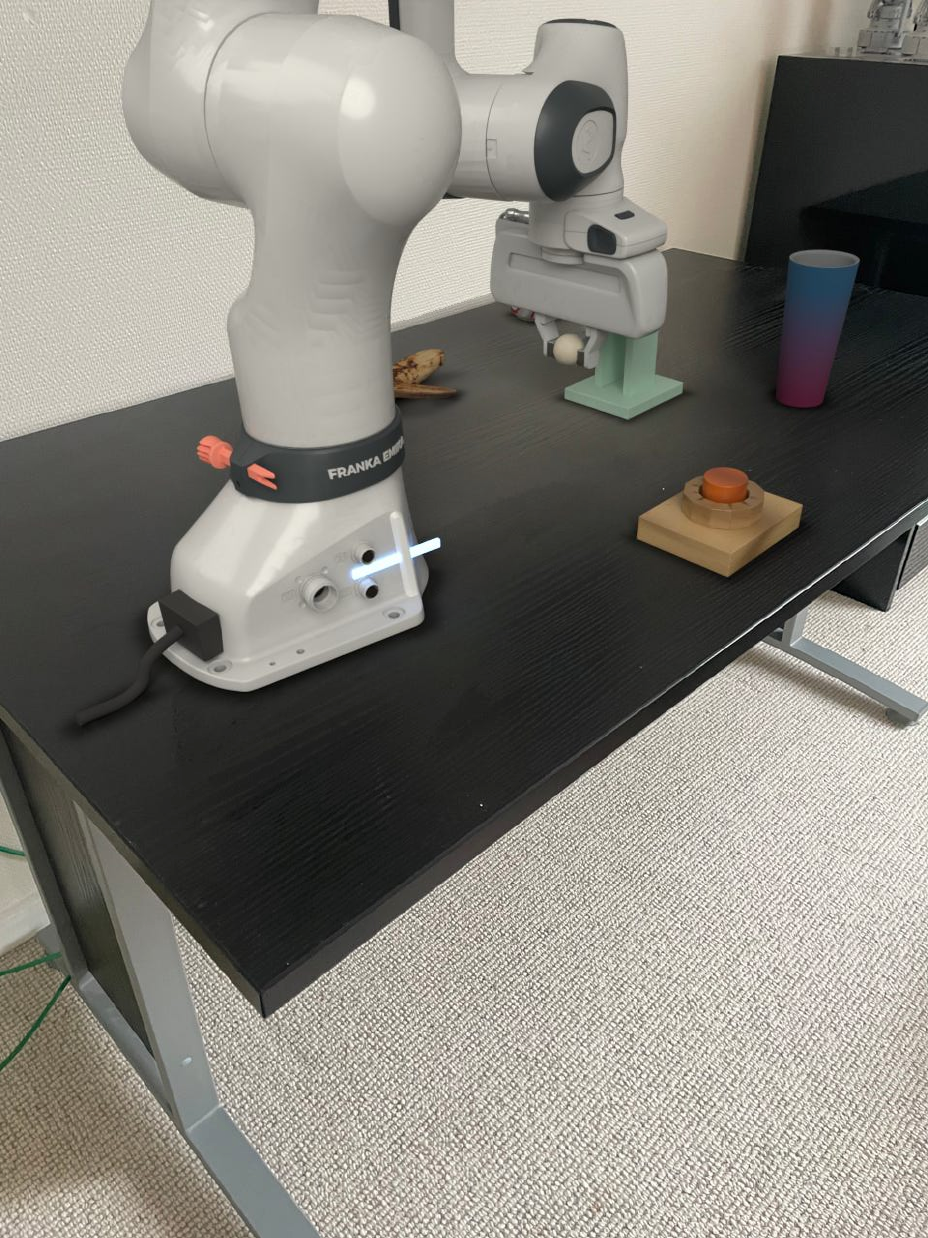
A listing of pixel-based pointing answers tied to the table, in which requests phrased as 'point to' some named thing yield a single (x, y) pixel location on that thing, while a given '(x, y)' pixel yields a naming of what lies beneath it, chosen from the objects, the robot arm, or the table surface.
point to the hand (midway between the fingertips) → (570, 361)
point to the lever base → (625, 378)
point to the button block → (719, 526)
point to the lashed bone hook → (419, 376)
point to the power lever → (569, 347)
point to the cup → (812, 323)
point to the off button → (724, 485)
